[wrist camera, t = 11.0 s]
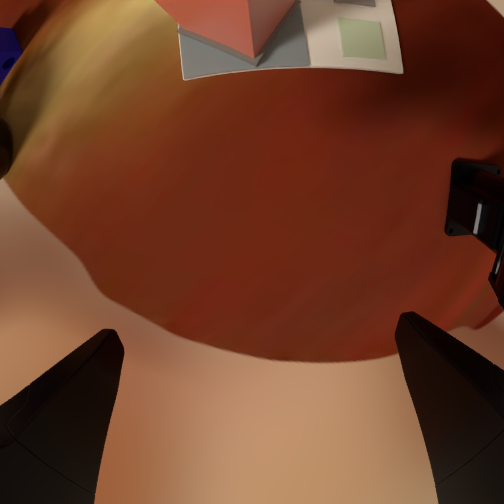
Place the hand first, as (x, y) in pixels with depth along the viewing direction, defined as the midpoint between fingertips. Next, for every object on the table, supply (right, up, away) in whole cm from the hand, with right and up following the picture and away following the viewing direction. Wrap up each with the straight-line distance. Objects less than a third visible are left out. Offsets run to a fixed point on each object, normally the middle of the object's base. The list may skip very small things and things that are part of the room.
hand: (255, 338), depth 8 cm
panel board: (+2, +18, +5) cm, 19 cm away
